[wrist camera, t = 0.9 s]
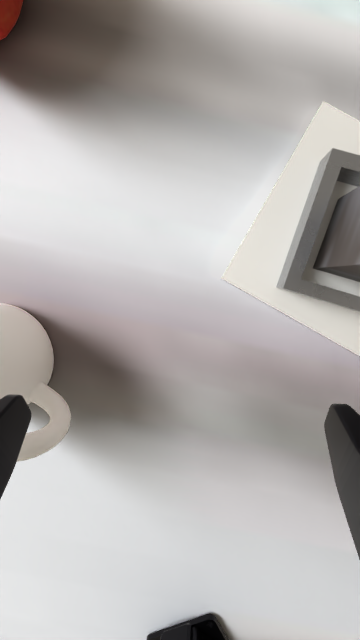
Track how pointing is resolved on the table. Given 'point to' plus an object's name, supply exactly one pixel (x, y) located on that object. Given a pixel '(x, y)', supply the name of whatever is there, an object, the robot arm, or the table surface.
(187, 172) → the table surface
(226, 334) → the table surface
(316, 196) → the collar
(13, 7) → the apple
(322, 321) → the plate
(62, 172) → the table surface
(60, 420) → the mug
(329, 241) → the peg
